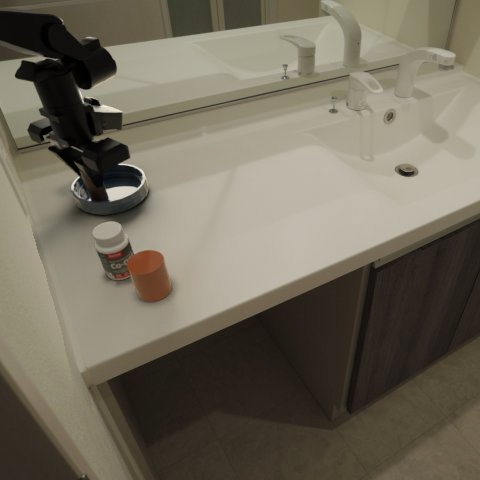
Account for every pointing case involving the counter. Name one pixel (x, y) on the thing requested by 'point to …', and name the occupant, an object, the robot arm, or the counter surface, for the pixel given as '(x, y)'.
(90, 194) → the brown cylinder
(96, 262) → the counter surface
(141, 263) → the orange cylinder cap
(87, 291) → the counter surface
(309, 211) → the counter surface
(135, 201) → the bowl
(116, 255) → the pill bottle
